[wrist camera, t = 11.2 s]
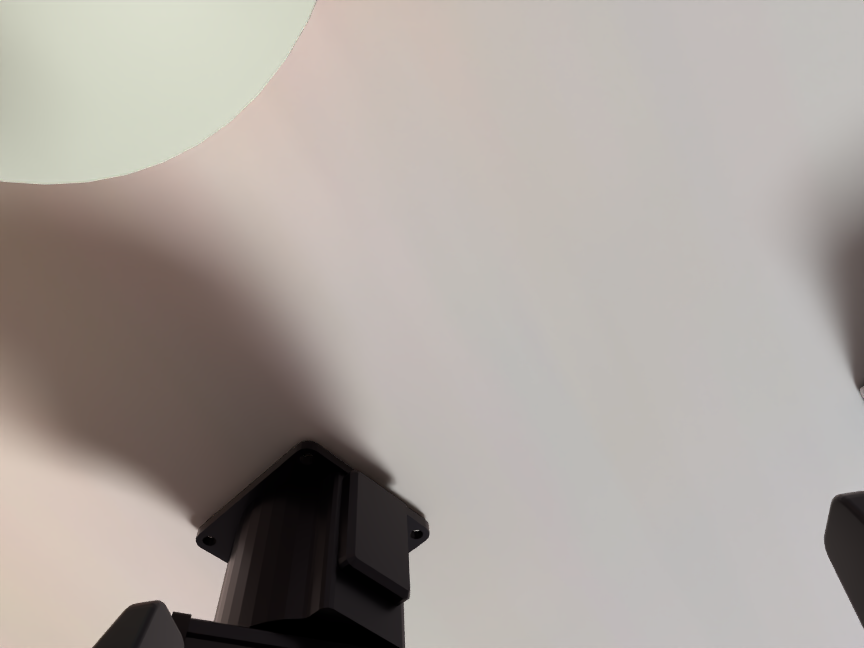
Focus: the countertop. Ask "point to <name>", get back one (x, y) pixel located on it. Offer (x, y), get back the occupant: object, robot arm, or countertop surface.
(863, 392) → the medicine box
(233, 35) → the lid
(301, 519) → the robot arm
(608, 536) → the countertop surface
